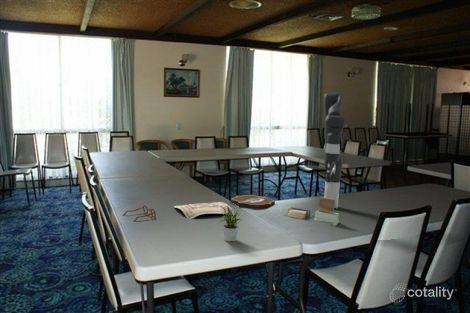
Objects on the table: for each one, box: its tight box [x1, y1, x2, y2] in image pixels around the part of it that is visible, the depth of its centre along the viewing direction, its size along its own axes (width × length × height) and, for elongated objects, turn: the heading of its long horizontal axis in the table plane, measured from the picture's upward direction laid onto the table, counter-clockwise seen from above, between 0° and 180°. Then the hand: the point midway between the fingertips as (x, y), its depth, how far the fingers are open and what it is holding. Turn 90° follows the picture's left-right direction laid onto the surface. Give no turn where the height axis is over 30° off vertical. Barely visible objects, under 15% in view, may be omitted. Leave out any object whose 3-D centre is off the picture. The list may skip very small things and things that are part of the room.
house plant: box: [217, 206, 246, 242], centre depth 171 cm, size 14×14×16 cm
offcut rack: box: [282, 206, 313, 221], centre depth 216 cm, size 12×14×4 cm
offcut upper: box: [287, 210, 306, 216], centre depth 213 cm, size 5×9×2 cm, turn 68°
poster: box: [173, 201, 236, 220], centre depth 219 cm, size 28×6×30 cm
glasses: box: [122, 205, 157, 222], centre depth 200 cm, size 13×13×5 cm
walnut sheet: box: [318, 196, 335, 214], centre depth 210 cm, size 2×8×12 cm, turn 64°
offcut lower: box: [288, 214, 306, 220], centre depth 214 cm, size 5×9×2 cm, turn 64°
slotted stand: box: [313, 209, 340, 227], centre depth 211 cm, size 8×12×6 cm, turn 64°
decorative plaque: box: [230, 194, 276, 210], centre depth 246 cm, size 30×3×30 cm
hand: (329, 181), depth 208 cm, fingers open, 8 cm apart
